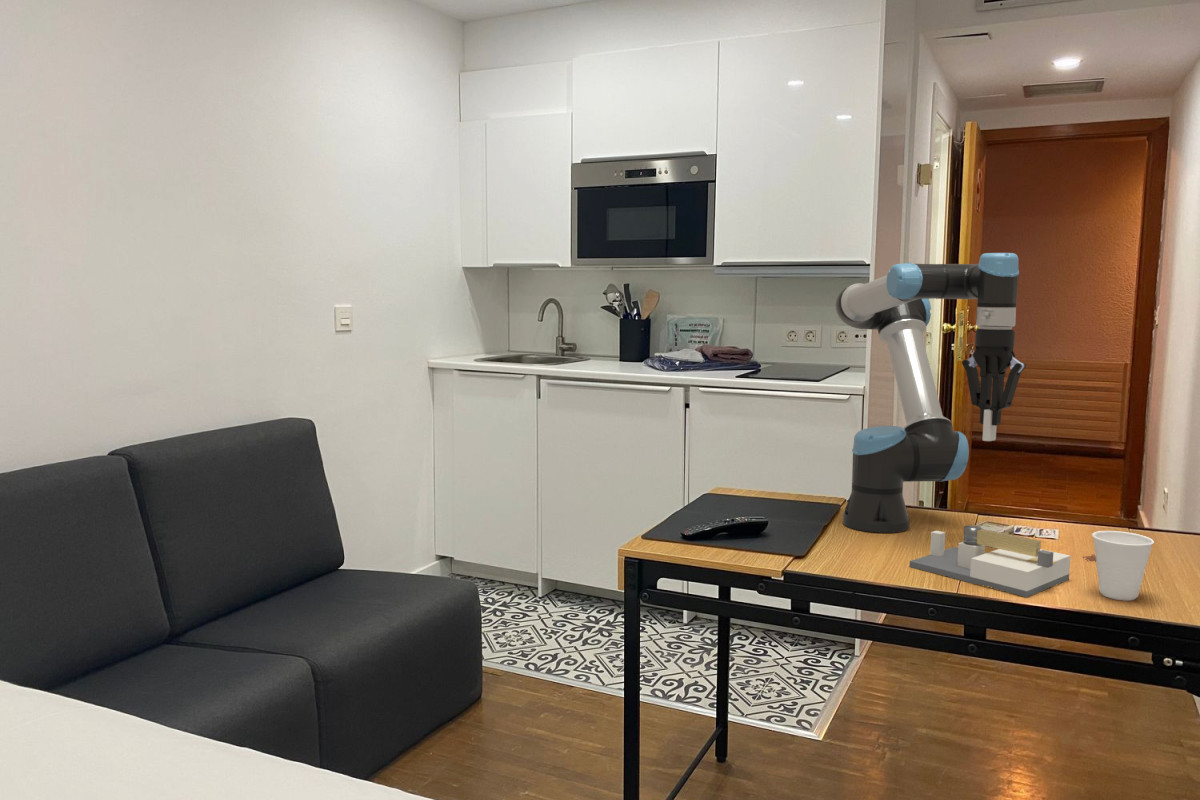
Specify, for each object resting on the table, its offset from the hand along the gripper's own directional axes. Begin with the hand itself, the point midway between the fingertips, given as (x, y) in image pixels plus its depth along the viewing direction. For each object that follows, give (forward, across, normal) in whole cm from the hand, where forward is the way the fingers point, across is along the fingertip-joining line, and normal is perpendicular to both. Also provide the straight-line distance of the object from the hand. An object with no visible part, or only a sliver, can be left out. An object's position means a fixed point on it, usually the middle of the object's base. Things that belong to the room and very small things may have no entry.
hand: (989, 440), depth 194 cm
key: (+25, +20, +10) cm, 34 cm away
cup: (+25, +30, -7) cm, 39 cm away
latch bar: (+18, +11, -15) cm, 26 cm away
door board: (+24, +8, -13) cm, 29 cm away
